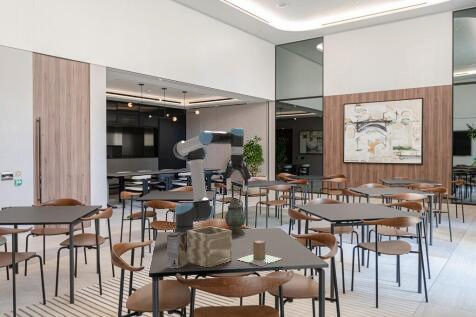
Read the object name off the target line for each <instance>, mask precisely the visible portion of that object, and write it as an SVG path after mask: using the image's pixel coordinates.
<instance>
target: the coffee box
mask: <svg viewBox="0 0 476 317" xmlns="http://www.w3.org/2000/svg"><path fill="white" fill-rule="evenodd" d="M166 243H167V244H166V246H167V248H166V250H167V252H166V255H167V257H166V258H167V262H166V263H167V264H166V265H167V266H166V267H167V269H174V268H179V269H181V268H182V267H184V266H186V265H188V262H187V233H186V232H175V233H174V232H173V233H169V234H167V235H166ZM180 267H181V268H180Z"/></svg>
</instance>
